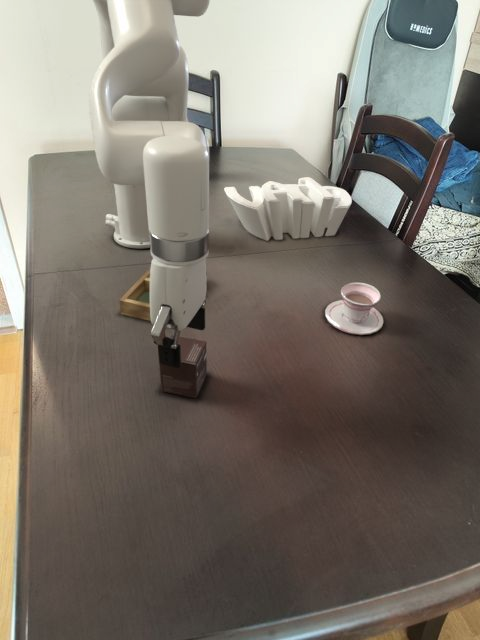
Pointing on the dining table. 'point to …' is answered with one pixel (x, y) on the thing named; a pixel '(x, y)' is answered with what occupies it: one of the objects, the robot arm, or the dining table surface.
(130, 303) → the wooden tray
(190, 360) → the box
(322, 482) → the dining table surface
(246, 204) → the wavy white extrusion
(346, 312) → the teacup
